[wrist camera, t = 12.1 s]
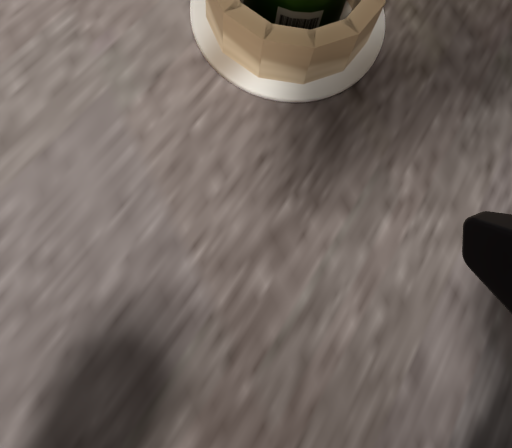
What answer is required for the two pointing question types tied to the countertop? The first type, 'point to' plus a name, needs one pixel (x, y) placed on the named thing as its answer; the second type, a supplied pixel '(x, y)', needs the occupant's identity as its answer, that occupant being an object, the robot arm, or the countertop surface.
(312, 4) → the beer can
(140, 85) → the countertop surface
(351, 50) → the can holder
